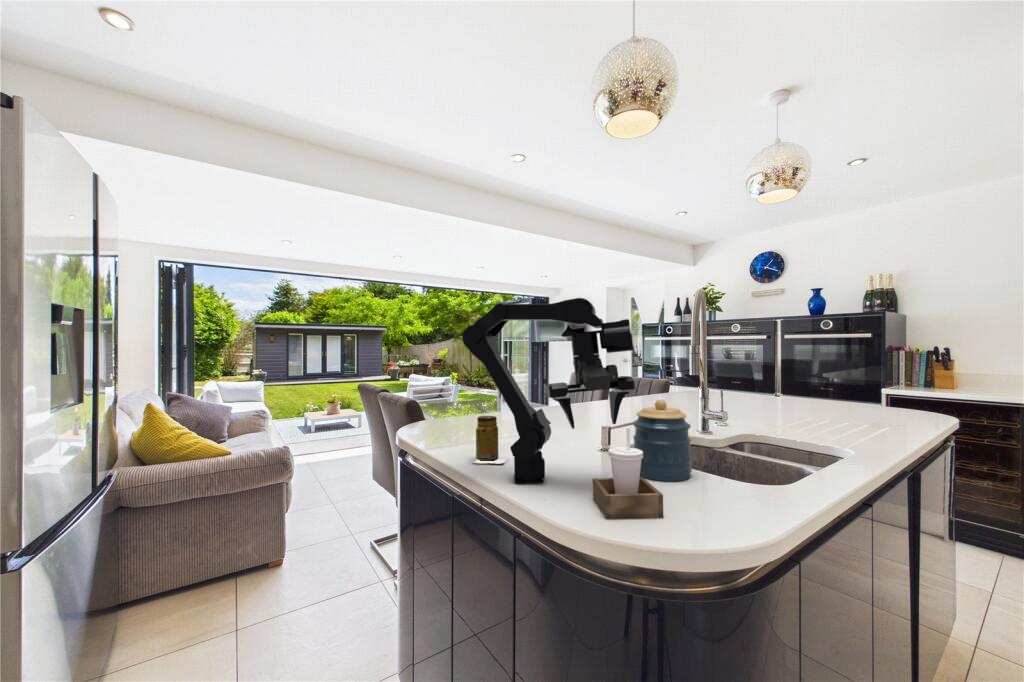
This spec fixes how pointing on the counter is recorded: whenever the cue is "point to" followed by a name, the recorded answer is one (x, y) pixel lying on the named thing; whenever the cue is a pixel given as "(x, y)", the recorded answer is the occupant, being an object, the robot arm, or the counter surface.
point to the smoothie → (626, 467)
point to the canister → (663, 443)
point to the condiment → (487, 438)
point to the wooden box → (627, 500)
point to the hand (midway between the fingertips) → (593, 426)
